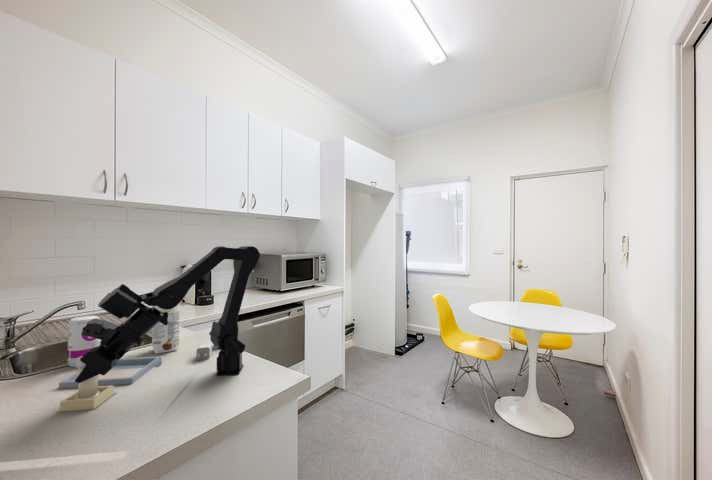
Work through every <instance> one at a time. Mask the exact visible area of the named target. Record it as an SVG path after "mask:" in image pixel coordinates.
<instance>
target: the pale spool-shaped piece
mask: <svg viewBox="0 0 712 480" xmlns="http://www.w3.org/2000/svg"><path fill="white" fill-rule="evenodd" d="M81 357H82V356H81ZM81 357H79V358H77V359H76V367H75V368H77V370H78V371H77V373H78V376H79V374H80V373H81V371H82V370H83V369H84V367H85V366H86V364H84V363H83V362H81V360H80V358H81ZM98 379H99V375H96V376H94V377H92V378H90V379H87V380H85V381H83V382H81V383H78V387H77V391H78V396H77V397H76V400H77V399H91V398H94V397H96V396H97V395H98V394H100V391H98Z"/></svg>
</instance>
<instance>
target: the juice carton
mask: <svg viewBox="0 0 712 480" xmlns="http://www.w3.org/2000/svg"><path fill="white" fill-rule="evenodd" d="M151 307H154V308H156V309H157V310H159V311H161V312H168V315H169V316H168V325H164V324H162V323H161V322H158V323H157V324H156V325H155V326H154V327H153V328H152V329H151V338H152V339H151V340H152V341H151V342H152V343H151V344H152V345H151V346H152V349H153V351H154V355H159V354H163V353H169V352H175V350H176V351H177V350H178V348H179V345H180V303H179V304H178V305H177V306H176V307H174V308H172V309H161V308H160V307H158V306H151Z"/></svg>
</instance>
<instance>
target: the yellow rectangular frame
mask: <svg viewBox="0 0 712 480" xmlns="http://www.w3.org/2000/svg"><path fill="white" fill-rule="evenodd" d="M114 386H115V385H107V386H98V391H100V394H98V395H97V396H96V397H94V398H91V399H77V400H76V397H77V396H78V390H77V391H75V392H73V393H72V394H70V395H69V396H67V397H65V398H64V399H62V400H61V401H59V410H58V411H55V414H63V413H73V412H74V413H77V412H87V411H95V410H97V409H98V408H100V406H102V405H103V404H105V403H106V402H107V401H108V400H110V399H112V397H114V396H115V395H116V394H117V392H114V390H115V389H114Z"/></svg>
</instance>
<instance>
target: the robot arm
mask: <svg viewBox="0 0 712 480" xmlns="http://www.w3.org/2000/svg"><path fill="white" fill-rule="evenodd" d="M260 253H261V252H260V251H259V249H258V248H257V247H255V246H251V245H250V246H249V245H244V246H243V245H242V246H239V247H236V248H235V247H226V246H219V245H218V246H215V247H213V248H212V250H210V252H208V253H206V255H204V256H203V257H202V258H201V259H199V260H198V261H196V262H195V263H194V264H193V265H192V266H191V267H189V268H188V269H187V270H186V271H184V272H183V273H181V274H180V275H179V276H177V277H175V278H173V279H170V280H169V281H166V282H165V283H163V284H162V285H161V284H160V286H158V287H156V288H155V289H153V291H150V292H146V293H142V294H140V295H139V294H138V293H136V292H134V291H133V290H132V289H130V287H128V286H127V285H126V284H124V283H121V284H120V285H119V286H118V287H116V288H115V289H113V290H111V292H108V293H107V294H106V295H105V296H104V297H103V298H102V299H101V300H100V302H99V303H98V304H97V307H98V308H100V309H102V310H104V311H105V312H107V313H109V314H110V315H112V316H114V317H116V318H117V319H119V320H120V319H123V318H127V320H125V321H123V322H122V323H120V324H116V323H114V322H111V321H107V320H104V319H101V318H100V319H96V318H95V319H92V320H90V321H88V323H87V325H86V326H85V327H83V329H82V330H83V332H82V333H81V335H83V336H86V337H87V336H89V337H93V338H96V339H101V342H99V343H101V344H100V347H94V348H92V349H91V350H89V351H88V352H87V353H86V354H85V355H84V356H82V357H81V358H80V360H81V362H83V363H84V364H86V366H85V367H84V369H83V370H82V371H81V373H80V374H79V376H78V377H77V378H76V380H75V382H77V383H81V382H83V381H85V380H87V379H90V378H92V377H94V376H96V375H98V376H99V375H101V376H106V374H108V373H109V372H110V371H112V370H111V369H112V368H113V367H114V366H115V365H116V364H117V360H119V359H122V357H123V356H125V355H126V354H127V353H128V352H130V350H132V348H133V347H134V346H135V345H136V344H138V342H140V340H142V339H143V337H144V336H146V334H148V333H149V332H150V330H151V331H152V328H153V327H154V326H155V325H156V324H157V323H158V322H161V323H162V324H164V325H168V316H169V315H168V312H161V311H159V310H157V309H156V308H154V307H152V306H158V307H160V308H161V309H172V308H174V307H176V306H177V305H178V304H179V305H180V303H181V301H183V299H184V298H185V297H186V296H187V294H188V292H189V291H190V289H191V288H192V287H193V286H194V285H196V283H198V282H199V281H200V280H201V279H202V278H204V277H205V276H206V275H207V274H209V273H210V271H211V272H212V270H213V269H214V268H216V267H217V266H218V265H219V264H220V263H221V262H223V261H225V260H233V262H232V263H233V275H232V280H231V283H230V287H229V291H228V293H227V297H226V300H225V303H224V304H225V305H224V308H223V311H222V314H221V317H220V318H219V320H218V321H212V325H211V330H210V332H209V333H208V335H209V336H210V341H211V342H210V343H211V344H212V345H213V344H214V345H216V346H217V348H216V349H217V350H219V352H218V356H217V357H216V376H229V375H230V376H231V375H233V376H234V375H240V373H241V371H242V369H243V368H244V364H243V353H244V352H245V349H246V344H245V343H243V342H241V341H240V340H239V325H238V324H239V323H238V320H239V319H238V318H239V315H240V311H241V307H242V303H243V300H244V298H245V297H244V296H245V293H246V289H247V285H248V281H249V278H250V275H251V274H252V273H253V271H254V270H255V268H257V264H258V263H259V260H260V256H261V254H260Z"/></svg>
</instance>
